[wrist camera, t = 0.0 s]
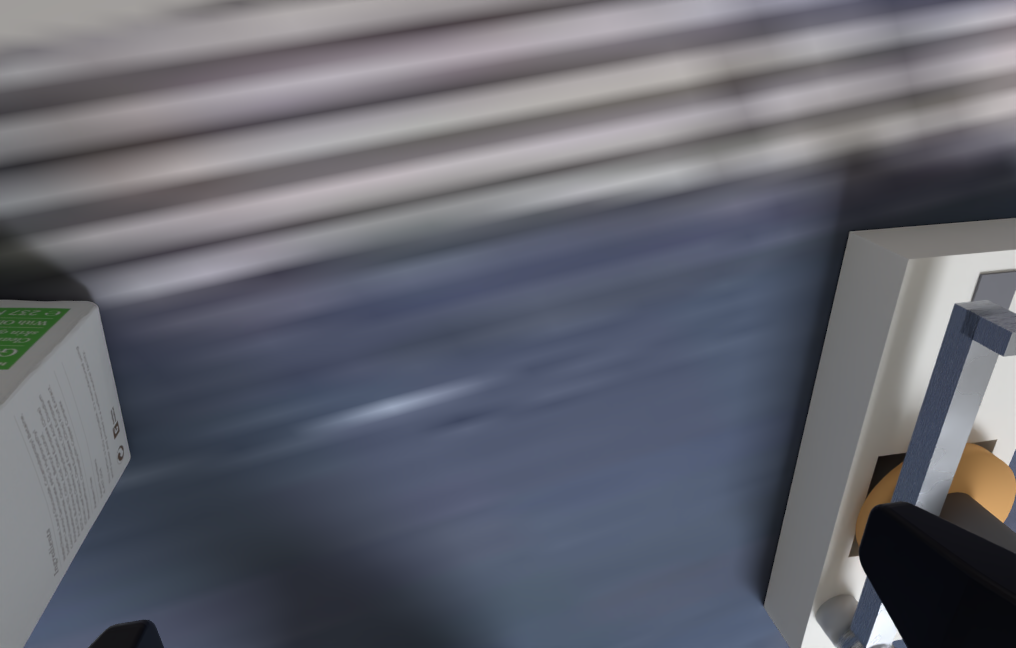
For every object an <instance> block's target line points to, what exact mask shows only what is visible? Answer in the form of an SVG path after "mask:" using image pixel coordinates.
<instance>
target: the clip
mask: <svg viewBox="0 0 1016 648" xmlns="http://www.w3.org/2000/svg"><path fill="white" fill-rule="evenodd" d="M999 355H1001V356H1003V357H1006V356H1014V355H1016V313H1014V312H1012V311H1009V310H1007V309H1005V308H1003V307H1001V306H999V305H997V304H995V303H993V302H991V301H988V300H981V301H972V302H962V303H955V304H954V307H953V310H952V313H951V316H950V319H949V322H948V325H947V328H946V332H945V335H944V338H943V341H942V344H941V347H940V350H939V353H938V356H937V360H936V363H935V366H934V369H933V372H932V375H931V378H930V381H929V384H928V387H927V391H926V394H925V397H924V400H923V403H922V406H921V409H920V412H919V415H918V418H917V422H916V425H915V428H914V431H913V434H912V437H911V440H910V443H909V446H908V450H907V453H906V456H905V459H904V462H903V465H902V468H901V471H900V474H899V477H898V481H897V484H896V487H895V490H894V493H893V496H892V499H891V502H898V501H904V502H909V503H911V504H913V505H915V506H918V507H920V508H922V509H924V510H926V511H928V512H930V513H932V514H934V515H936V516H939V515H940V513H941V510H942V507H943V505H944V502H945V499H946V497H947V494H948V491H949V488H950V486H951V483H952V480H953V478H954V475H955V472H956V470H957V467H958V464H959V461H960V459H961V456H962V453H963V451H964V448H965V445H966V443H967V440H968V437H969V434H970V432H971V429H972V426H973V424H974V421H975V418H976V416H977V413H978V410H979V407H980V405H981V402H982V399H983V397H984V394H985V391H986V389H987V386H988V383H989V381H990V378H991V375H992V372H993V370H994V367H995V364H996V362H997V359H998V356H999ZM891 502H890V503H891ZM896 631H897V628H896V627H895V625H894V623H893V621H892V620H891V618H890V616H889V614H888V613H887V611H886V609H885V607H884V606H883V604H882V602H881V600H880V599H879V597H878V595H877V593H876V591H875V590H874V588H873V586H872V584H871V583H870V581H869V579H868V577H866V580H865V583H864V586H863V589H862V592H861V595H860V599H859V602H858V605H857V608H856V611H855V614H854V617H853V620H852V623H851V626H850V629H849V630H847V631H846V632H845V633H844V634H843V635H842V636H841V637H840V639H839V640H838V643H837V648H895V647H894V646H893V644H892V642H893V639H894V637H895V634H896Z"/></svg>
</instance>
